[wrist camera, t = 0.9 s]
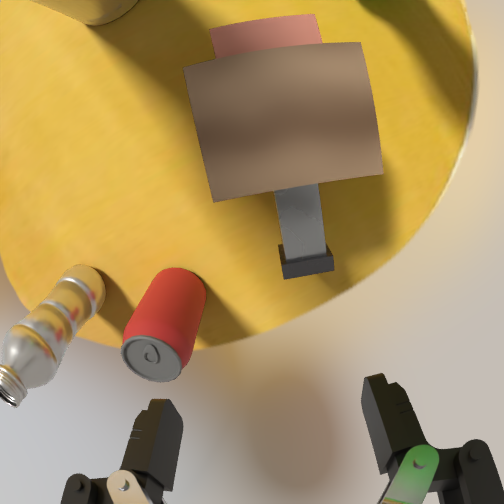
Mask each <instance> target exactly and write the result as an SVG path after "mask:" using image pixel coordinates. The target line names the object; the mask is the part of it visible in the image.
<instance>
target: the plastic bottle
mask: <svg viewBox="0 0 504 504" xmlns="http://www.w3.org/2000/svg"><path fill="white" fill-rule="evenodd" d="M105 297H106V289H105V284H104V281H103V279H102V277H101V276H100V274H99V273H98V272H97V271H96V270H95V269H93V268H91V267H89V266H86V265H75V266H73V267H71V268H70V269H68V270H66V271H65V272H64V273H63V275H62V276H61V277H60V279H59V280H58V282H57V284H56V286H55V287H54V288H53V289H52V291H51V292H50V293H49V294H48V296H47V297H46V298H45V299H44V301H43V302H41V303H40V304H39V305H38V306H37V307H36V308H35V309H34V310H33V311H32V312H31V313H30V314H28V315H27V316H26V317H24V318H23V319H22V320H21V321H19V322H18V323H17V324H16V325H14V326H13V327H12V328H11V329H10V330H9V331H8V332H7V333H6V336H5V338H4V341H3V346H2V364H1V365H0V398H1V399H2V400H3V401H4V402H6V403H7V404H9V405H10V406H12V407H14V408H17V407H18V406H19V405H20V403H21V401H22V400H23V399H24V398H25V397H26V395H27V389H30V388H36V387H40V386H43V385H45V384H47V383H48V382H50V381H51V380H52V379H53V378H54V376H55V374H56V372H57V370H58V367H59V365H60V363H61V361H62V358H63V356H64V354H65V352H66V350H67V348H68V346H69V345H70V343H71V341H72V339H73V338H74V336H75V335H76V333H77V332H78V331H79V330H80V329H81V328H82V326H83V325H84V324H85V323H86V322H87V321H88V320H89V319H91V318H92V317H93V316H94V315H95V314H96V313H97V312H98V311H99V310H100V309H101V307H102V305H103V303H104V300H105Z"/></svg>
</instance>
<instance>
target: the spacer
mask: <svg viewBox="0 0 504 504" xmlns="http://www.w3.org/2000/svg"><path fill="white" fill-rule="evenodd" d="M209 30H210V34H211V39H212V43H213V48H214V52H215V57H216V59H218V58H222V57H227V56H231V55H236V54H241V53H247V52H252V51H258V50H265V49H271V48H279V47H287V46H296V45H306V44H320V43H322V39H321V35H320V32H319V28H318V24H317V21H316V18H315V14H307V15H293V16H283V17H274V18H266V19H259V20H252V21H246V22H241V23H235V24H230V25H226V26H221V27H216V28H212V29H209Z"/></svg>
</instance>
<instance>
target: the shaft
mask: <svg viewBox="0 0 504 504" xmlns="http://www.w3.org/2000/svg"><path fill="white" fill-rule="evenodd" d="M273 193H274V198H275V204H276V209H277V215H278V220H279V226H280V232H281V237H282V243H283V244H280V245H278V249H279V254H280V260H281V266H282V271H283V277H284V280H285V279H290V278H296V277H301V276H307V275H312V274H318V273H323V272H328V271H334V261H333V255H332V253H331V251H330V249H329V248H328V246H327V244H326V242H325V235H324V226H323V218H322V210H321V202H320V195H319V188H318V183H316V184H310V185H304V186H298V187H292V188H286V189H281V190H275V191H273Z"/></svg>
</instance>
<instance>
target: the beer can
mask: <svg viewBox="0 0 504 504" xmlns="http://www.w3.org/2000/svg"><path fill="white" fill-rule="evenodd" d="M205 301H206V290H205V288H204V285H203V283H202V282H201V280H200V279H199V278H198V277H197V276H196V275H195V274H193V273H192V272H190V271H188V270H185V269H182V268H168V269H164V270H162V271H161V272H160V273H158V274H157V275H156V277H155V278H154V279H153V281H152V283H151V284H150V286H149V288H148V289H147V291H146V293H145V294H144V296H143V298H142V299H141V301H140V303H139V304H138V306H137V308H136V310H135V311H134V313H133V315H132V317H131V318H130V320H129V322H128V324H127V325H126V327H125V329H124V334H123V345H122V346H121V355H122V358H123V361H124V362H125V363H126V365H127V367H129V369H130V370H132V371H133V372H134V373H135V374H137V375H139V376H140V377H142V378H144V379H147V380H150V381H155V382H169V381H171V380H174V379H176V378H177V377H178V376H179V375H180V373H181V370H182V369H183V368H184V367H185V366H186V365H187V363H188V362H189V360H190V357H191V354H192V351H193V347H194V343H195V339H196V335H197V332H198V328H199V324H200V320H201V316H202V312H203V309H204V305H205Z"/></svg>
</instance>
